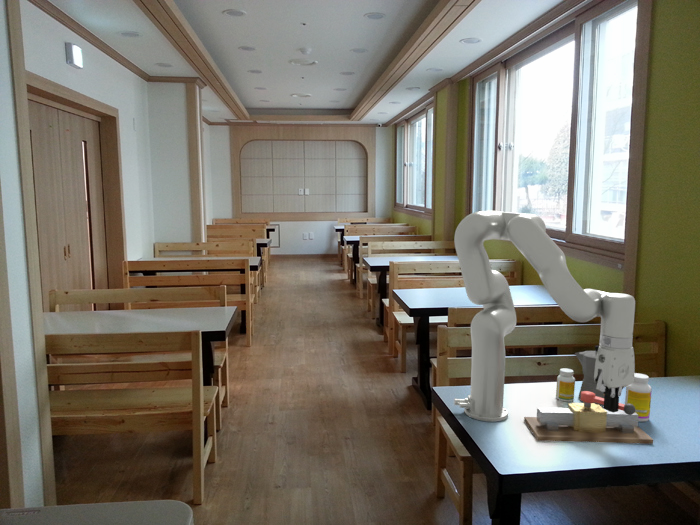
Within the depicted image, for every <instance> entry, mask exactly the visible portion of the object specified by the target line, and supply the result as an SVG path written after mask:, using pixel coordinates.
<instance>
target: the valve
mask: <svg viewBox="0 0 700 525" xmlns="http://www.w3.org/2000/svg"><path fill="white" fill-rule="evenodd" d="M536 417H537V421H538V422H539V424H540V425H543V426H544V428H545V429H546V430H547V431H558V430H559V425H562V426H571V427H572V428H573V430H577V431H578V432H586V433H603V431H606V427H616V428H617V429H618V430H619V431H620V432H621V433H632V434H633V433H634V427H635V428H637V426H638V427H639V425H638V424H639V421H638V414H637V413H634V414H632V415H628V414H626V413H625V412H624V411H623V410H619V409H618V412H610V411H608V410H606V409H604V407H602V406H600V405H597V404H594V403H591V407H590V408H587V407H584V402H571V403H568V404H567V407H546V406H545V407H543V406H542V407H540V406H539V407H536Z"/></svg>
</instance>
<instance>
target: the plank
mask: <svg viewBox="0 0 700 525" xmlns="http://www.w3.org/2000/svg"><path fill="white" fill-rule="evenodd" d="M523 418H524V419H523V421H524V423H525V424H526V426H527V428H528V429H529V430H530V432H531V433H532V435H533V436H534V437H535V439H536V440H537V441H539V442H569V443H570V442H572V443H573V442H575V443H606V444H607V443H608V444H609V443H610V444H612V443H613V444H637V443H639V444H642V445H644V444H645V445H647V444H649V445H653V444H654V439H653V438H652V437H651V436H650V435H649V434H647V433H646V432H645V430H643V429H642V428H640V426H639V425H638V426H637V428H635V427H634V433H633V434H632V433H621V432H620V431H619V430H618V429H617V428H616V427H606V431H603V433H586V432H578V431H577V430H573V428H572V427H571V426H562V425H559V430H558V431H547V430H546V429H545V428H544V426H543V425H540V424H539V422H538V421H537V416H524V417H523Z"/></svg>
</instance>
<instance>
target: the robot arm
mask: <svg viewBox="0 0 700 525" xmlns="http://www.w3.org/2000/svg"><path fill="white" fill-rule="evenodd" d="M546 230H547V227H546V222H545V221H544V219H543V218H541V217H540V216H539V215H537V214H533V213H519V212H510V211H507V212H506V211H499V210H480V211H475V212H472V213H470V214H468V215H466V216H465V217H464V218H463V219H461V221H460V222H459V224H458V225H457V227H456V229H455V232H454V239H453V240H454V249H455V251H456V256H457V259H458V263H459V266H460V271H461V276H462V279H463V285H464V288H465V292H466V296H467V299H468V300H469V301H470V302H471V303H472V304H474V305H477V306H482V308H483V309H481V310H480V311H479V312H477V313H476V314H475V315H474V316H473V318H472V320H471V322H470V339H471V340H470V341H471V368H470V369H471V370H470V371H471V372H470V394H468V395H467V397H464V398H453V405H454V406H459V408H460V409H461V408H463V409H464V413H465V415H466V416H468V417H470V419H471V418H472V419H473V420H474V419H475V420H477V421H482V422H490V423H491V422H493V423H494V422H501V421H504V420H506V419H507V418H508V417H509V411H508V410H507V408H505V407H504V394H505V393H504V392H505V390H504V389H505V373H506V348H505V347H506V346H505V337H506V336H508V335H509V334H511V333H512V332H513V331H514V330H515V328H516V326H517V312H516V309H515V305H514V301H513V296H512V293H511V289H510V285H509V283H508V280H507V279H506V277H505V275H504V274H502V273H501V272H500V271H497V270H495V269H492V267H491V262H490V257H489V256H488V253H487V250H486V248H485V246H484V242H485V241H489V240H499V241H500V240H501V241H502V240H503V241H509V242H511V243H512V244H513V245H514V247H515V248H516V249H517V250H518V251H519V252H520V253H521V255H523V257H524V258H525V259H526V260H527V262H528V263H529V264H530V265H531V266H532V268H533V269H534V270H535V271H536V272H537V275H538V276H539V279H540V280H541V283H542V284H543V285H544V288H545V289H546V291H547V293H548V294H549V296H550V297H551V298H552V300H554V302H555V303H556V304H557V306H559V308H560V309H561V310H562V312H564V314H565V315H567V316H568V318H570V319H571V320H573V321H575V322H577V323H587V322H589V321H591V320H593V319H594V318H597V317H598V318H599V317H600V333H599V334H600V335H599V343H598V344H599V345H598V346H599V349H598V353H597V357H596V363H595V372H594V380H595V383H597V387H596V389H597V390H599V391H602V392H603V394H604V405H603V409H606V410H608V411H610V412H618V407H619V403H620V397H621V396H622V392H623V389H624V388H626V386H628V385H630V384H632V383H633V382H634V373H636V371H635V369H636V367H635V365H636V364H635V362H636V361H635V350H634V347H633V338H634V337H633V336H634V325H635V314H636V313H635V312H636V300H635V298H634V296H633V295H630V294H627V293H621V292H620V293H619V292H606V291H602V290H598V289H594V288H585V289H584V288H582V286H581V285H580V284H579V282H577V281H576V279H575V278H574V277H573V275H572V274H571V271H570V270H569V268H568V265H567V259H566V255H565V253H564V251H563V250H562V249H561V248H560V247H559V245H557V243H555V241H554V240H553V239H552V238H551V236H550V235H548V233H547V232H546ZM607 387H608V388H607Z"/></svg>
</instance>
